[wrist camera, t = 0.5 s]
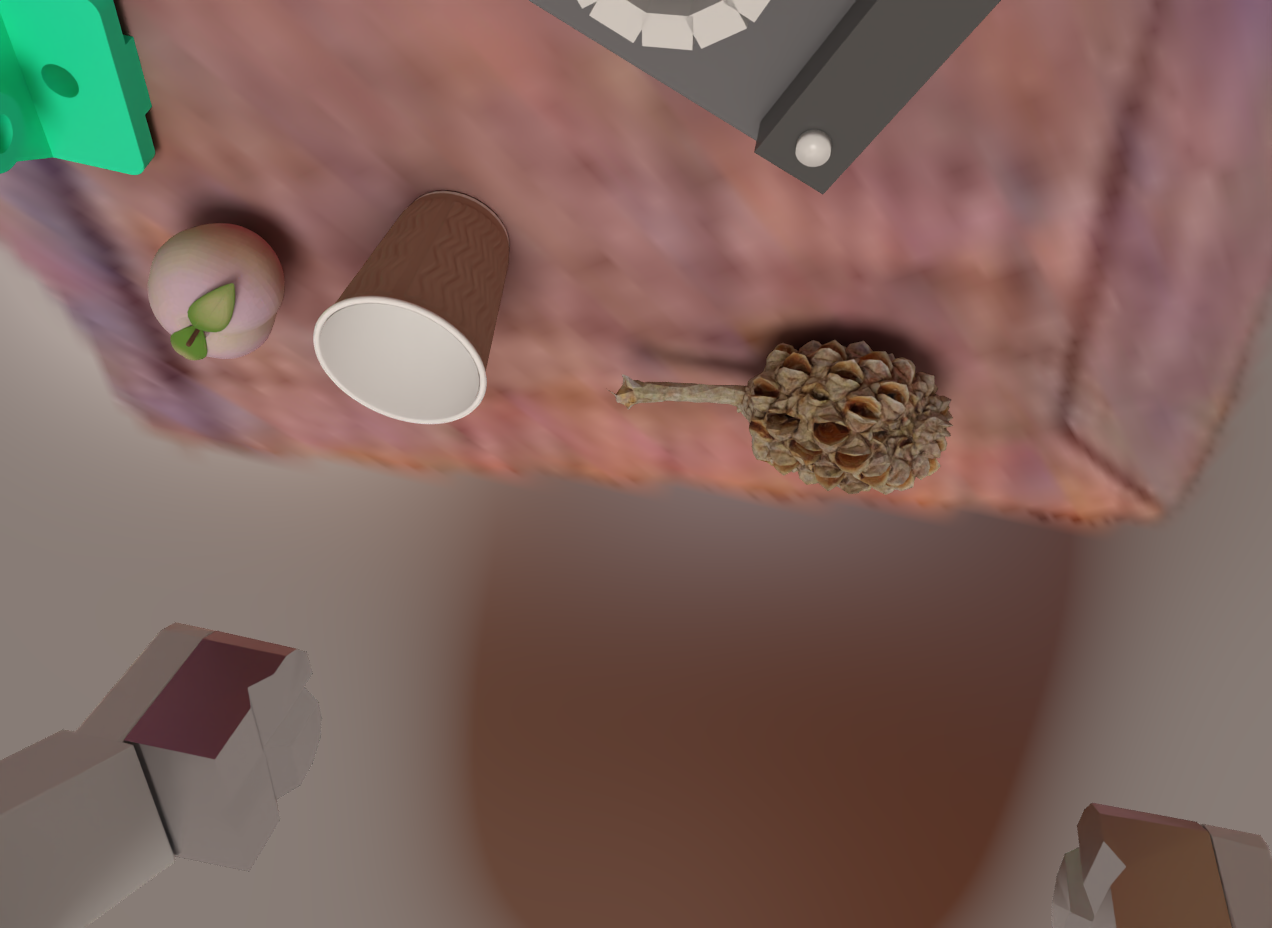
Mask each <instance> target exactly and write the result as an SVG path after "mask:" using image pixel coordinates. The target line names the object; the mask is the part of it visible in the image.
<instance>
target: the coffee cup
mask: <svg viewBox="0 0 1272 928" xmlns="http://www.w3.org/2000/svg"><path fill="white" fill-rule="evenodd" d="M508 263H509V238H508V234H507V232H506V229H505V227H504V225H503V224H502V222H501V220H500V219H499V218H498V217H497V216H496V214H495V213H494V212H493V211H492V210H490V209H489V208H488V207H487V206H486V205H484V204H483V203H481V202H479V201H478V200H476V199H474V198H472V197H469V196H467V195H464V194H461V193H457V192H450V191H435V192H431V193H427V194H425V195H423V196H421V197H419V198H418V199H416V200H415V201H414V202H413V203H412V204H411V205H410V206H409V207H408V208H407V209H406V210H404V211H403V213H402V214H401V215H400V217H399V218H398V219H397V221H396V222H395V223H394V225H393V226H392V227H391V229H390V230H389V231H388V233H387V234H386V235H385V237H384V238H383V240H382V241H381V242H380V244H379V245H378V246H377V248H376V249H375V250H374V252H373V253H372V254H371V256H370V257H369V258H368V260H367V261H366V262H365V264H364V265H363V267H362V268H361V269H360V271H359V272H358V273H357V275H356V276H355V277H354V279H353V280H352V281H351V283H350V284H349V285H348V287H347V288H346V289H345V291H344V292H343V293H342V295H341V296H340V298H339V299H338V300H337V302H336V303H335V304H334V305H332V306H331V307H329V308H328V309H327V310H325V311H324V312H323V313H322V315H321V316H320V317H319V319H318V321H317V323H316V325H315V328H314V335H313V340H314V348H315V352H316V355H317V358H318V360H319V362H320V364H321V366H322V368H323V369H324V371H325V372H326V373H327V375H328V376H329V377H330V378H331V380H332V381H333V382H334V383H335V384H336V385H337V386H338V387H339V388H340V389H341V390H343V391H344V392H345V393H346V394H347V395H349V396H350V397H351V398H353V399H354V400H356V401H357V402H359V403H361V404H362V405H364V406H366V407H368V408H369V409H371V410H374V411H376V412H378V413H380V414H383V415H385V416H388V417H391V418H394V419H398V420H402V421H406V422H411V423H419V424H440V423H447V422H451V421H455V420H458V419H460V418H462V417H464V416H466V415H468V414H469V413H471V412H472V411H473V410H474V409H475V408H476V407H477V406H478V405H479V404H480V403H481V401H482V399H483V397H484V395H485V392H486V386H487V379H486V367H487V363H488V358H489V353H490V348H491V344H492V339H493V334H494V330H495V325H496V320H497V315H498V311H499V306H500V301H501V297H502V292H503V287H504V282H505V278H506V273H507V268H508ZM325 321H326V323H325ZM324 323H325V324H324ZM323 325H324V326H323ZM322 327H323V328H322ZM321 330H322V331H321ZM479 386H480V387H479ZM478 390H479V391H478ZM477 393H478V394H477ZM476 395H477V396H476Z"/></svg>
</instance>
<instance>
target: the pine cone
mask: <svg viewBox="0 0 1272 928" xmlns="http://www.w3.org/2000/svg"><path fill="white" fill-rule="evenodd" d="M622 376H623V385H622V387H621V388H620V389H619V391H618V392H617V394H614V393H613V392H611V391H610V392H611V393H612V394H614V395H615V397H616V401H617V402H618V403H621V404H623V405H625V406H626V407H627V409H628V410H629V409H630V408H631V407H632V406H633V405H634V404H637V403H649V402H663V401H666V400H668V401H689V402H711V403H721V404H731V405H734V406H737V412H738V413H739V412H741V413H742V414H743V415H744V417H745V418H746V419H747V420H748V421H749V423H750V425H749V431H750V434H751V436H752V450H753V454H754V455H755V457H756V459H757V460H761V461H765V462H767V463H769V464H770V465H772V466H774V467H775V468H776V470H777V471H779V472H780V473H781V474H782V475H786V474H788V473H790V472H791V471H792V472H796V471H798V474H799V477H800V479H801V480H802V481H803V482H804V483H805V484H806V485H807V484H816V483H819V484H820V485H821V486H822V487H824V488H825V489H826V490H827V491H829V490H831V489H833V488H834V487H836V486H837V487H839V488H841V489H842V490H844V491H845V492H847V493H848V494H855V493H859V492H860V491H870V489H871V487H872V488H873V489H875V490H877V491H879V492H881V493H883V494H885V495H886V494H889V493H891V492H892V491H894V490H895V489H896V490H900V491H903V490H906V489H909V488H912V487H913V485H914V480H915V477H917V478H919V479H920V480H922V479H923V478H924V477H926V476H930V475H932V474H933V473H934V472H936V471H937V470H938V469H939V467H940V464H939V463H938V461H937V460H936V458H940V454H941V451H945V450H946V446H947V441H946V439H945V436H950V433H949V432H948V431H947V430H946V427H950V426H953V425H952V424H950V423H949V422H948V421H949V420H951V419H953V417H952V415H951V414H950V412H949V411H948V409H949V406H948V405H949V403H950V401H951V399H949V398H947V397H945V396H938V395H936V394H935V393H936V391H937V390H938V388H937V386H936V385H935V384H934V376H933V375H930V374H927V373H923V372H919V373H916V374H915V365H914V364H913V362H912V361H910V360H908V359H905V358H903V357H901V358H897V359H895V357H894V355H893V354H892V353H891V354H887V353H886V351H874V352H873V351H872V349H871V348H870V347H869V345H868V344H866V343H865V342H864V341H862V342H857V343H852V344H850V345H849V346H848V347H847V348H846V347H845V346H842V345H840V344H839V343H838V342H837V341H835V340H833V341H831V342H829V343H826V344H824V345H821V344H820V343H819V342H818V341H814V340H812V341H810V342H808V343H807V344H805V345H804V346H803V347H801V348H800V349H799V351H797V350H796V349H794V348H793V346H791V345H788V344H785V343H781V344H779V345H777V346H776V347H775V349H774V350H773V351H772V352H771V353H770V354H769V355H768V357H767V359H766V366H765V368H764V371H763V372H762V373H760V374H758V375H756V376H755V377H753V378H752V379H750V380H749V381H748V386H741V385H704V384H692V383H673V382H641V381H639V380H632V379H631V378H629V377H628V376H625V375H622ZM608 391H609V390H608Z"/></svg>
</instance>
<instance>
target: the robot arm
mask: <svg viewBox="0 0 1272 928" xmlns="http://www.w3.org/2000/svg"><path fill="white" fill-rule="evenodd" d="M312 674H313V673H312V669H311V665H310V661H309V658H308V654H307V652H306V651H303V650H299V649H295V648H291V647H287V646H282V645H278V644H273V643H269V642H264V641H260V640H255V639H251V638H246V637H242V636H237V635H233V634H229V633H224V632H220V631H214V630H209V629H205V628H200V627H195V626H190V625H186V624H181V623H174V624H172V625H170V626H168V627H166V628H164V629H162V630H161V631H160V632H159V633H158V634H157V635H156V636H155V638H154V639H153V640H152V641H151V642H150V644H149V645H148V646H147V647H146V648H145V650H144V651H143V652H142V653H141V654H140V655H139V657H138V658H137V659H136V660H135V661H134V663H133V664H132V665H131V666H130V667H129V668H128V670H127V671H126V672H125V673H124V674H123V676H122V677H121V678H120V679H119V680H118V681H117V683H116V684H115V685H114V686H113V687H112V689H111V690H110V691H109V692H108V693H107V695H106V696H105V697H104V698H103V699H102V700H101V702H100V703H99V704H98V705H97V706H96V708H95V709H94V710H93V711H92V712H91V714H90V715H89V716H88V717H87V718H86V720H85V721H84V722H83V723H82V724H81V726H80V727H79V728H78V729H77V730H76V731H75V732H74V731H69V730H61V731H59V732H57V733H55V734H53V735H51V736H49V737H47V738H45V739H43V740H41V741H39V742H37V743H35V744H33V745H31V746H28V747H26V748H24V749H22V750H21V751H18V752H16V753H15V754H12V755H10V756H8V757H6V758H4V759H2V760H0V928H85V927H86V926H88V925H89V924H91V923H92V922H93V921H95V920H96V919H97V918H99V917H100V916H101V915H103V914H104V913H106V912H107V911H108V910H110V909H111V908H112V907H114V906H115V905H117V904H118V903H119V902H121V901H122V900H123V899H125V898H126V897H127V896H129V895H130V894H132V893H133V892H134V891H136V890H137V889H138V888H140V887H141V886H143V885H144V884H145V883H147V882H148V881H149V880H151V879H152V878H153V877H155V876H156V875H158V874H159V873H160V872H162V871H163V870H164V869H166V868H167V867H169V866H170V865H171V864H173V863H174V862H175V857H179V858H184V859H190V860H194V861H200V862H204V863H209V864H214V865H219V866H224V867H229V868H233V869H238V870H244V871H248V872H249V871H250V869H251V868H252V866H253V864H254V863H255V861H256V859H257V858H258V856H259V854H260V853H261V851H262V849H263V848H264V846H265V844H266V843H267V841H268V839H269V837H270V836H271V834H272V832H273V831H274V829H275V827H276V825H277V824H278V822H279V821H280V816H279V810H278V804H277V799H279V798H280V797H282V796H284V795H285V794H287V793H289V792H290V791H292V790H294V789H295V788H297V787H299V786H300V785H301V783H302V781H303V780H304V778H305V776H306V774H307V772H308V771H309V769H310V767H311V765H312V764H313V760H314V757H315V754H316V751H317V747H318V744H319V741H320V737H321V719H322V717H321V712H320V707H319V702H318V701H317V700H316V699H315V698H314V696H313V695H312V694H311V693H310V692H309V691H308V690H307V689H306V688H305V687H304V686H305V685H306V683H307V682H308V680H309V678H310V677H311V675H312ZM1077 831H1078V840H1079V847H1078V848H1076V849H1074V850H1072V851H1070V852H1068V853H1066V854H1065V855H1064V857H1063V860H1062V863H1061V865H1060V868H1059V871H1058V873H1057V876H1056V883H1055V888H1054V894H1053V900H1052V928H1272V856H1271V852H1270V849H1269V846H1268V844H1267V843H1266V842H1265V841H1264V839H1263V838H1262V837H1261V835H1257V834H1252V833H1247V832H1242V831H1237V830H1231V829H1226V828H1221V827H1215V826H1211V825H1206V824H1199V823H1197V822H1195V821H1189V820H1184V819H1178V818H1173V817H1167V816H1162V815H1157V814H1151V813H1145V812H1140V811H1135V810H1129V809H1124V808H1118V807H1113V806H1107V805H1102V804H1096V803H1091V804H1090V805H1089V806H1087V807H1086V808H1085V809H1084V811H1083V813H1082V815H1081V818H1080V820H1079V822H1078V824H1077Z"/></svg>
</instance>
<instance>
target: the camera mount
mask: <svg viewBox="0 0 1272 928" xmlns="http://www.w3.org/2000/svg"><path fill="white" fill-rule="evenodd" d="M151 107H152V105H151V101H150V98H149V94H148V90H147V86H146V83H145V79H144V75H143V72H142V68H141V64H140V60H139V57H138V53H137V49H136V46H135V42H134V38H133V37H132V36H127V35H123V34H122V30H121V26H120V23H119V19H118V16H117V12H116V8H115V5H114V1H113V0H0V174H1V173H4V172H6V171H8V170H10V169H11V168H12V167H13V166H14V165H15V163H16V162H17V161H25V160H34V159H43V158H51V157H55V158H59V159H64V160H68V161H73V162H77V163H82V164H86V165H91V166H95V167H100V168H104V169H109V170H113V171H118V172H122V173H127V174H131V175H138V174H141V173H142V172H143V170H144V169H145V168H146V167H147V165H148V164H149V163H150V161H151V160H152V159H153V157H154V156H155V149H154V145H153V142H152V138H151V134H150V131H149V127H148V124H147V120H146V116H145V114H146V113H147V112H148V111H149V110H150V108H151Z"/></svg>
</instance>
